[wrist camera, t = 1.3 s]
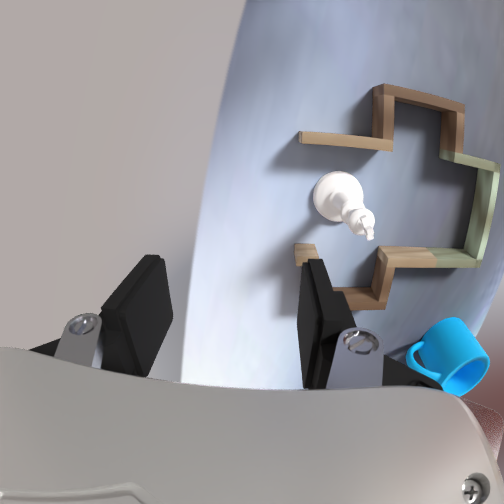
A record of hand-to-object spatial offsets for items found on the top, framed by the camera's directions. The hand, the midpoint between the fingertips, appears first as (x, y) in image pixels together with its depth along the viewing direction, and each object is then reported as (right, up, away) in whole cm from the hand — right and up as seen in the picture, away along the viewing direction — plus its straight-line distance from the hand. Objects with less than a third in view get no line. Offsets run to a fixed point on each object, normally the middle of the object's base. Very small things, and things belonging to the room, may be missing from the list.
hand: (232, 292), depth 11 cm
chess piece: (+9, +7, +16) cm, 19 cm away
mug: (+26, -11, +23) cm, 36 cm away
